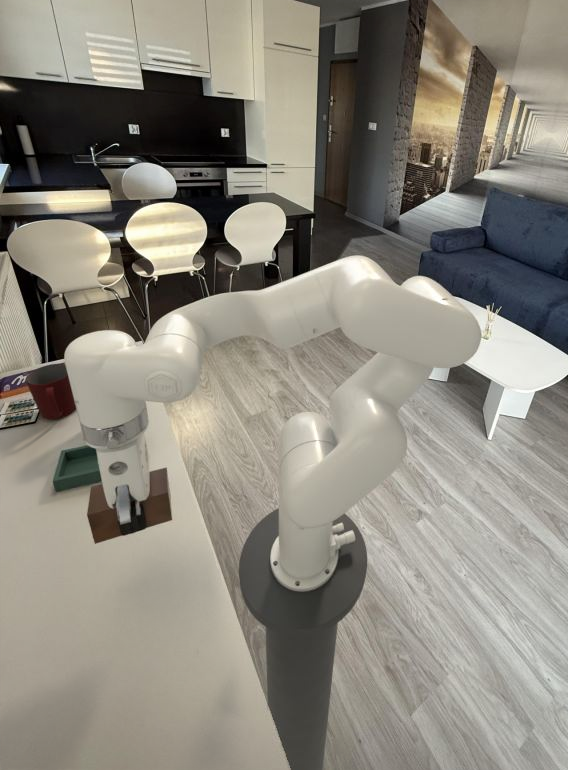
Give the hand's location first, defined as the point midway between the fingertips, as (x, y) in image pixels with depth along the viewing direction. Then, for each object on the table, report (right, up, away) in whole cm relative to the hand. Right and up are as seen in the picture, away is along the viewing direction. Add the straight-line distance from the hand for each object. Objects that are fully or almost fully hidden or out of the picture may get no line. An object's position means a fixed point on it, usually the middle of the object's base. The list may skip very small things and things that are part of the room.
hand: (134, 513), depth 60 cm
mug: (-41, +4, +39) cm, 57 cm away
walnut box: (0, -1, 0) cm, 1 cm away
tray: (-22, -4, +26) cm, 34 cm away
